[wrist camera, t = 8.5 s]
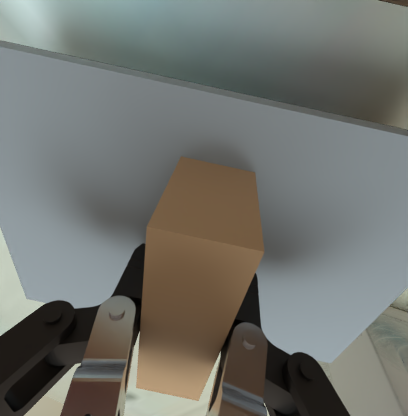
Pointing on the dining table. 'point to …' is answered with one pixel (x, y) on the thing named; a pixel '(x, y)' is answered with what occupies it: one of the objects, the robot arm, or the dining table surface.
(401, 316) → the skincare box
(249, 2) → the dining table surface
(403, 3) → the box
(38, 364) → the robot arm
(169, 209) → the lid
